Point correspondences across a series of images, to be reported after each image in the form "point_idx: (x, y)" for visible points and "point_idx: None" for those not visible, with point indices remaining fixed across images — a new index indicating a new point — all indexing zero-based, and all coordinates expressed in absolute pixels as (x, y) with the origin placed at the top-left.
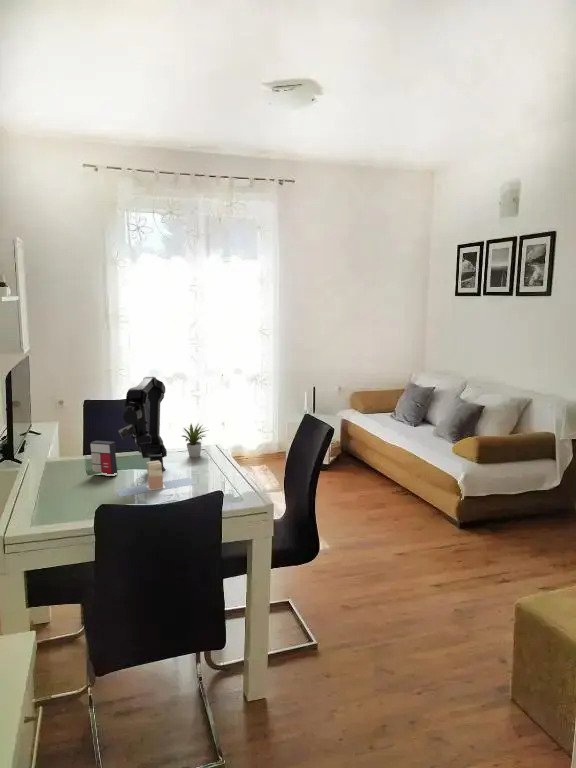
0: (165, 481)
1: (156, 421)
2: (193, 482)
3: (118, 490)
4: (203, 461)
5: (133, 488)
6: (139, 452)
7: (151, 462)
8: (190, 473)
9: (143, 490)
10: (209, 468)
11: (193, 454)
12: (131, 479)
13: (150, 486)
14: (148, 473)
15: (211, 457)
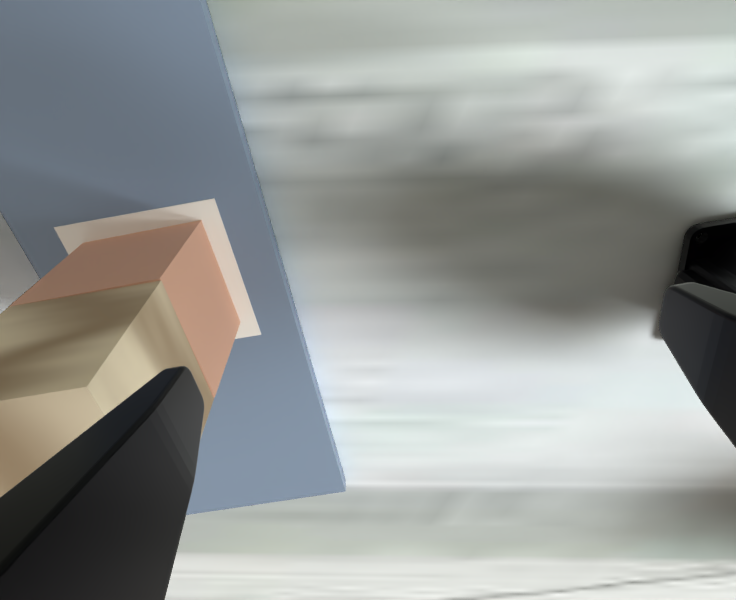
0: (302, 354)
1: None
2: (220, 508)
3: None
4: (699, 541)
5: (140, 54)
6: (669, 289)
7: (57, 449)
8: (478, 483)
9: (58, 173)
10: (524, 562)
11: None
12: (584, 7)
13: (68, 255)
14: (72, 308)
15: None
